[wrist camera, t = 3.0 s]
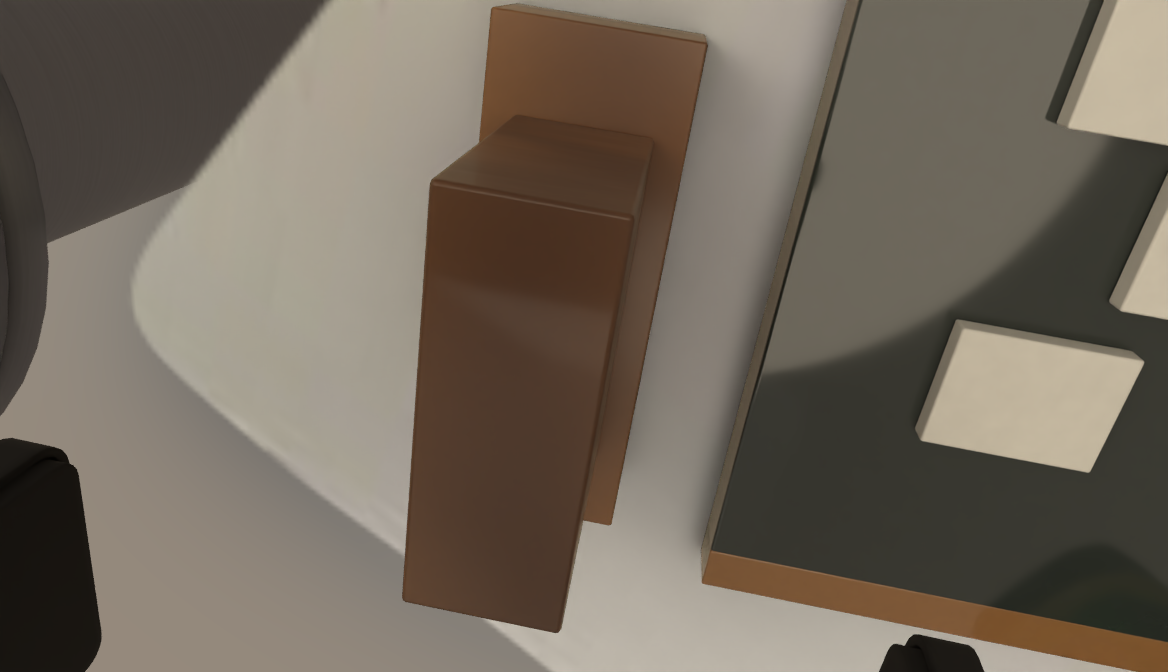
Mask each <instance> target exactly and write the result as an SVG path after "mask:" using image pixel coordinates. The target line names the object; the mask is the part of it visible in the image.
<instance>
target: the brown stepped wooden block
mask: <svg viewBox="0 0 1168 672" xmlns="http://www.w3.org/2000/svg"><path fill="white" fill-rule="evenodd" d="M707 47H708V45H707V40H706V35H704V34H698V33H692V32H686V31H680V30H674V29H668V28H662V27H656V26H650V25H644V24H638V23H632V22H626V21H620V20H614V19H608V18H602V17H596V16H590V15H584V14H578V13H572V12H566V11H560V10H554V9H548V8H542V7H536V6H530V5H524V4H518V3H516V4H509V5H503V6H496V7H492V9H491V17H490V28H489V39H488V50H487V60H486V71H485V82H484V93H483V104H482V115H481V126H480V137H479V143H478V144H477V145H476V146H474V147H473V148H472V149H471V150H469V151H468V152H467V153H465V154H464V155H463V156H461V157H460V158H459V159H458V160H456V161H455V162H454V163H452V164H451V165H450V166H449V167H447V168H446V169H445V170H443V171H442V172H441V173H440V174H438V175H437V176H436V177H434V178H433V179H432V180H431V182H430V190H429V204H428V219H427V234H426V249H425V264H424V279H423V294H422V309H421V324H420V339H419V354H418V369H417V383H416V398H415V413H414V428H413V443H412V458H411V473H410V488H409V503H408V518H407V533H406V548H405V562H404V577H403V592H402V598H403V600H404V601H405V602H409V603H414V604H419V605H423V606H428V607H433V608H438V609H443V610H447V611H452V612H457V613H462V614H467V615H472V616H476V617H481V618H486V619H491V620H495V621H500V622H505V623H510V624H515V625H520V626H524V627H529V628H534V629H539V630H544V631H548V632H553V633H558V632H559V631H560V630H561V628H562V623H563V618H564V613H565V608H566V603H567V598H568V593H569V588H570V584H571V579H572V574H573V569H574V564H575V559H576V554H577V549H578V544H579V539H580V534H581V530H582V525H583V520H584V521H589V522H594V523H599V524H604V525H611V524H612V519H613V514H614V509H615V504H616V499H617V494H618V489H619V484H620V479H621V474H622V469H623V464H624V459H625V454H626V449H627V444H628V439H629V434H630V429H631V424H632V419H633V414H634V409H635V404H636V399H637V395H638V390H639V385H640V380H641V375H642V370H643V365H644V360H645V355H646V350H647V345H648V340H649V335H650V330H651V325H652V320H653V315H654V310H655V305H656V300H657V295H658V290H659V285H660V280H661V275H662V270H663V265H664V260H665V255H666V250H667V245H668V241H669V236H670V231H671V226H672V221H673V216H674V211H675V206H676V201H677V196H678V191H679V186H680V181H681V176H682V171H683V166H684V161H685V156H686V151H687V146H688V141H689V136H690V131H691V126H692V121H693V116H694V111H695V106H696V101H697V96H698V91H699V86H700V82H701V77H702V72H703V67H704V62H705V57H706V52H707Z"/></svg>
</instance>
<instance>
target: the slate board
mask: <svg viewBox="0 0 1168 672" xmlns="http://www.w3.org/2000/svg"><path fill="white" fill-rule="evenodd" d="M1103 2H1104V0H847V1H846V5H845V8H844V12H843V16H842V20H841V24H840V27H839V31H838V35H837V39H836V42H835V46H834V50H833V54H832V58H831V61H830V65H829V69H828V73H827V76H826V80H825V84H824V88H823V92H822V95H821V99H820V103H819V107H818V110H817V114H816V118H815V122H814V126H813V129H812V133H811V137H810V141H809V144H808V148H807V152H806V156H805V160H804V163H803V167H802V171H801V175H800V178H799V182H798V186H797V190H796V194H795V197H794V201H793V205H792V209H791V212H790V216H789V220H788V224H787V228H786V231H785V235H784V239H783V243H782V246H781V250H780V254H779V258H778V262H777V265H776V269H775V273H774V277H773V280H772V284H771V288H770V292H769V296H768V299H767V303H766V307H765V311H764V314H763V318H762V322H761V326H760V330H759V333H758V337H757V341H756V345H755V348H754V352H753V356H752V360H751V364H750V367H749V371H748V375H747V379H746V382H745V386H744V390H743V394H742V398H741V401H740V405H739V409H738V413H737V416H736V420H735V424H734V428H733V432H732V435H731V439H730V443H729V447H728V450H727V454H726V458H725V462H724V466H723V469H722V473H721V477H720V481H719V484H718V488H717V492H716V496H715V500H714V503H713V507H712V511H711V515H710V518H709V521H708V525H707V529H706V533H705V536H704V540H703V544H702V548H701V571H702V583H703V584H707V585H712V586H717V587H722V588H727V589H731V590H736V591H741V592H746V593H751V594H756V595H761V596H766V597H771V598H776V599H781V600H786V601H791V602H796V603H801V604H805V605H810V606H815V607H820V608H825V609H830V610H835V611H840V612H845V613H850V614H855V615H860V616H865V617H870V618H874V619H879V620H884V621H889V622H894V623H899V624H904V625H909V626H914V627H919V628H924V629H929V630H934V631H939V632H943V633H948V634H953V635H958V636H963V637H968V638H973V639H978V640H983V641H988V642H993V643H998V644H1003V645H1008V646H1013V647H1017V648H1022V649H1027V650H1032V651H1037V652H1042V653H1047V654H1052V655H1057V656H1062V657H1067V658H1072V659H1077V660H1082V661H1086V662H1091V663H1096V664H1101V665H1106V666H1111V667H1116V668H1121V669H1126V670H1131V671H1136V672H1168V320H1166V319H1160V318H1155V317H1149V316H1144V315H1138V314H1132V313H1127V312H1121V311H1120V310H1119V309H1117V308H1116V307H1115V306H1114V305H1112V304H1111V303H1110V302H1109V300H1110V297H1111V295H1112V293H1113V291H1114V289H1115V286H1116V284H1117V282H1118V280H1119V278H1120V276H1121V273H1122V271H1123V269H1124V267H1125V265H1126V263H1127V260H1128V258H1129V256H1130V254H1131V252H1132V250H1133V247H1134V245H1135V243H1136V241H1137V239H1138V237H1139V234H1140V232H1141V230H1142V228H1143V226H1144V224H1145V221H1146V219H1147V217H1148V215H1149V213H1150V210H1151V208H1152V206H1153V204H1154V202H1155V200H1156V197H1157V195H1158V193H1159V191H1160V189H1161V187H1162V184H1163V182H1164V180H1165V178H1166V176H1167V174H1168V146H1166V145H1160V144H1154V143H1149V142H1143V141H1137V140H1131V139H1125V138H1119V137H1113V136H1107V135H1101V134H1095V133H1089V132H1083V131H1078V130H1072V129H1067V128H1065V127H1063V126H1060V125H1058V124H1057V120H1058V117H1059V115H1060V112H1061V110H1062V107H1063V104H1064V102H1065V99H1066V97H1067V94H1068V92H1069V89H1070V87H1071V84H1072V81H1073V79H1074V76H1075V74H1076V71H1077V69H1078V66H1079V64H1080V61H1081V58H1082V56H1083V53H1084V51H1085V48H1086V46H1087V43H1088V40H1089V38H1090V35H1091V33H1092V30H1093V28H1094V25H1095V23H1096V20H1097V17H1098V15H1099V12H1100V10H1101V7H1102V5H1103ZM956 320H964V321H970V322H975V323H981V324H986V325H992V326H997V327H1003V328H1008V329H1014V330H1019V331H1025V332H1030V333H1036V334H1041V335H1047V336H1052V337H1058V338H1063V339H1069V340H1074V341H1080V342H1085V343H1091V344H1096V345H1101V346H1107V347H1112V348H1118V349H1123V350H1129V351H1132V352H1134V353H1135V354H1136V355H1137V356H1138V357H1140V358H1141V359H1142V360H1143V361H1144V365H1143V367H1142V369H1141V371H1140V373H1139V375H1138V377H1137V379H1136V381H1135V383H1134V385H1133V387H1132V389H1131V391H1130V393H1129V395H1128V397H1127V399H1126V401H1125V403H1124V405H1123V407H1122V409H1121V411H1120V413H1119V415H1118V417H1117V419H1116V421H1115V423H1114V425H1113V427H1112V429H1111V431H1110V433H1109V435H1108V437H1107V439H1106V441H1105V443H1104V445H1103V447H1102V449H1101V451H1100V453H1099V455H1098V457H1097V459H1096V461H1095V463H1094V465H1093V467H1092V469H1091V471H1090V472H1088V473H1087V472H1082V471H1077V470H1071V469H1066V468H1061V467H1056V466H1050V465H1045V464H1040V463H1035V462H1029V461H1024V460H1019V459H1014V458H1009V457H1003V456H998V455H993V454H988V453H982V452H977V451H972V450H967V449H961V448H956V447H951V446H946V445H940V444H935V443H930V442H925V441H921V440H920V438H919V436H918V434H917V432H916V430H915V427H916V424H917V422H918V419H919V416H920V414H921V411H922V409H923V406H924V403H925V401H926V398H927V395H928V393H929V390H930V387H931V385H932V382H933V379H934V377H935V374H936V371H937V369H938V366H939V363H940V361H941V358H942V355H943V353H944V350H945V348H946V345H947V342H948V340H949V337H950V334H951V332H952V329H953V326H954V324H955V321H956Z"/></svg>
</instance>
